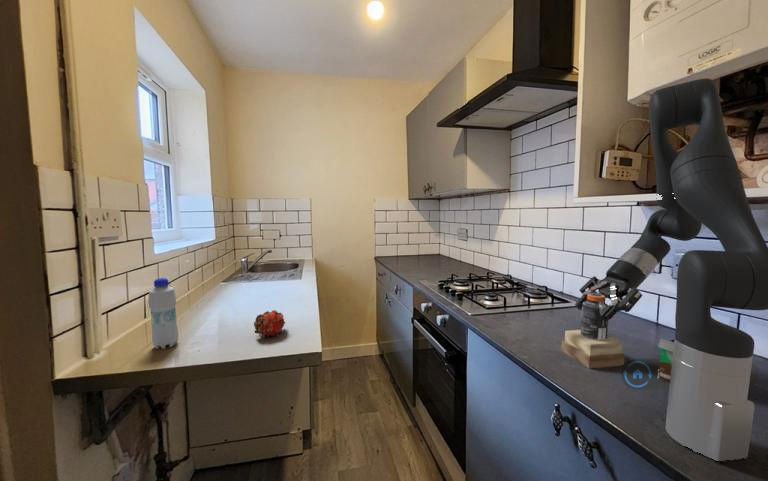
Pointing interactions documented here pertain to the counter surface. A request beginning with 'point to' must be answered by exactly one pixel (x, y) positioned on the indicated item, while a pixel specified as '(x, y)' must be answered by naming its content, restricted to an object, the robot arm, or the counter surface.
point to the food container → (666, 359)
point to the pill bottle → (594, 317)
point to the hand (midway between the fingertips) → (589, 313)
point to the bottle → (163, 314)
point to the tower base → (592, 358)
